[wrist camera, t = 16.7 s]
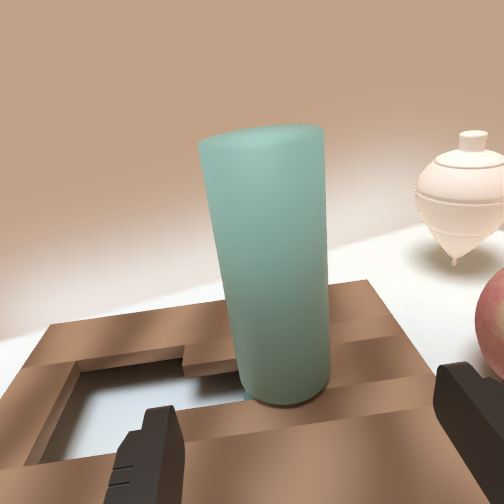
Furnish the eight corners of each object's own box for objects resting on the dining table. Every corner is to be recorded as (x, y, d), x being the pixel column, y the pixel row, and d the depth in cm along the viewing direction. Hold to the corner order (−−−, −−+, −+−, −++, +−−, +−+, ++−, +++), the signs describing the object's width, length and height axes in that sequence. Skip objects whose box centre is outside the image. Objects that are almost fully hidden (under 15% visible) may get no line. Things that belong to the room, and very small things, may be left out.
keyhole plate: (-89, 640, 14) (-138, 603, 13) (65, 357, 29) (50, 324, 27) (507, 548, 15) (524, 502, 13) (366, 313, 29) (367, 279, 28)
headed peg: (250, 458, 19) (193, 157, 12) (244, 385, 24) (200, 134, 17) (342, 444, 20) (339, 137, 12) (320, 374, 24) (308, 120, 17)
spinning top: (390, 264, 35) (398, 136, 30) (442, 240, 38) (458, 120, 33) (468, 299, 29) (495, 147, 24) (522, 267, 32) (557, 126, 27)
